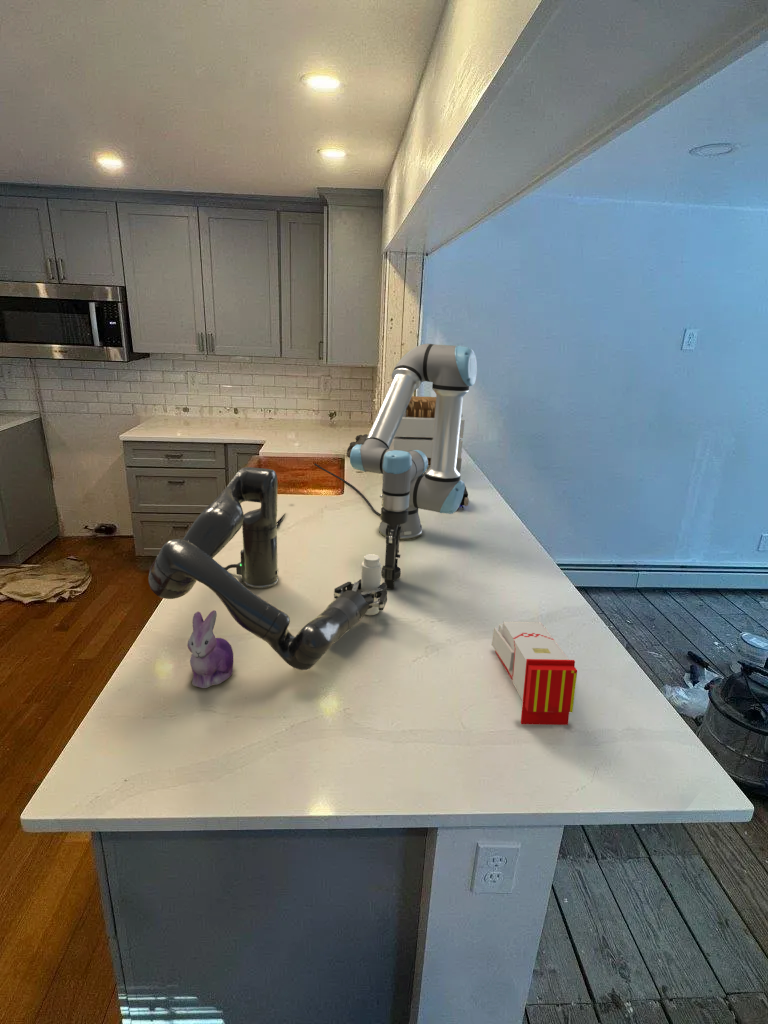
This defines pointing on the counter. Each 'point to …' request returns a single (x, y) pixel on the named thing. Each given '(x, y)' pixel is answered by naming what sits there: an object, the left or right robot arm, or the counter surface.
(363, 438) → the fossil
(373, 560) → the jar
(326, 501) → the counter surface
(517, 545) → the counter surface
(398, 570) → the lid
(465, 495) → the figurine character
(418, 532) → the right robot arm
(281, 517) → the feather
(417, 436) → the white wooden crate
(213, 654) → the figurine
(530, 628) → the toy
